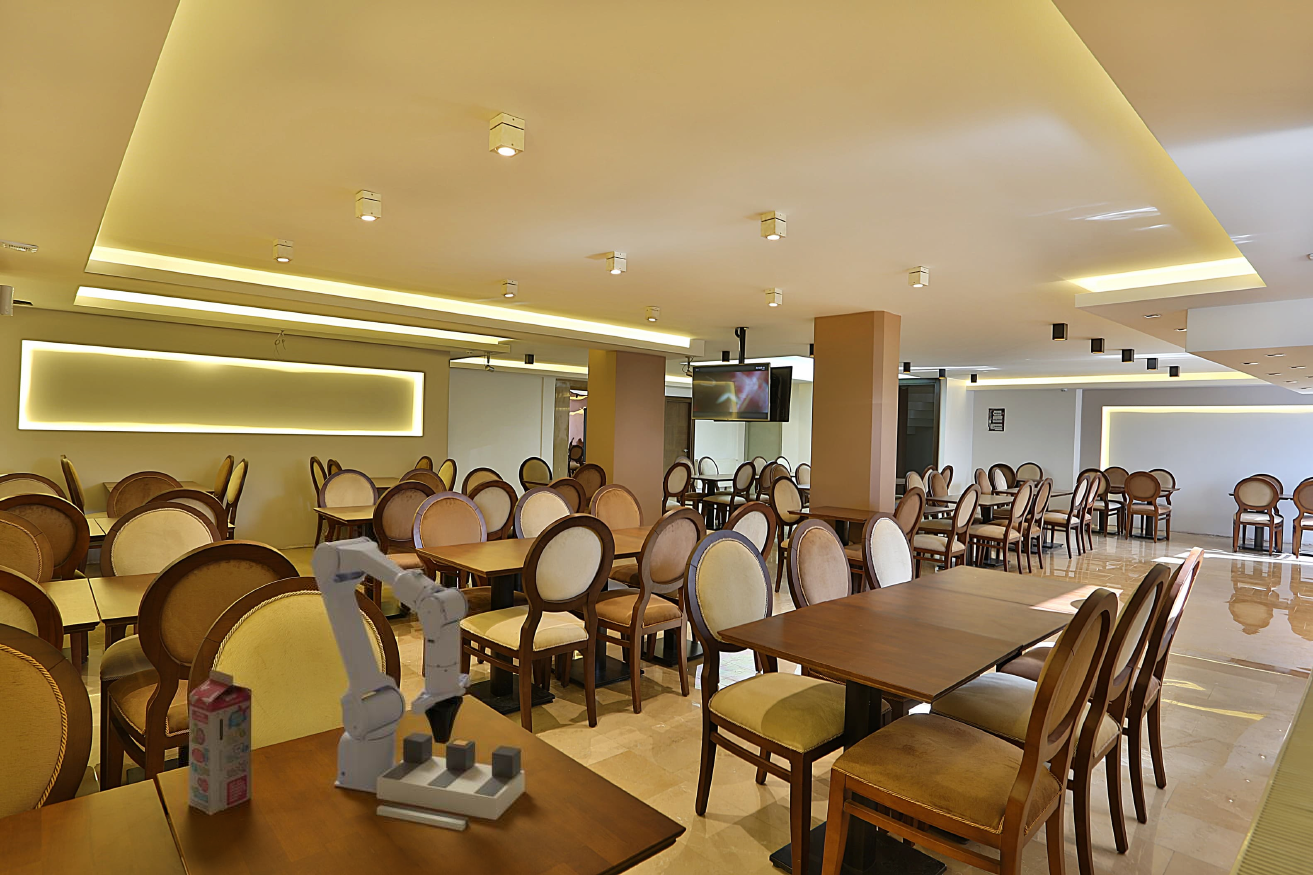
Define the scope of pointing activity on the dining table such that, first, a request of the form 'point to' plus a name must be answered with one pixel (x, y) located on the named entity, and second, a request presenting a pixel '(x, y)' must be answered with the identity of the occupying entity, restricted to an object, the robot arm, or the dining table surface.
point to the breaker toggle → (460, 754)
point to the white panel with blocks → (453, 781)
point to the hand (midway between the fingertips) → (441, 741)
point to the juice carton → (219, 743)
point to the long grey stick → (423, 816)
